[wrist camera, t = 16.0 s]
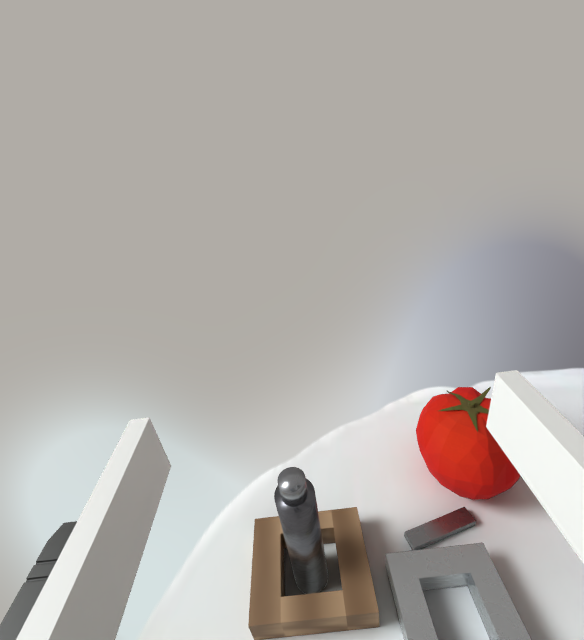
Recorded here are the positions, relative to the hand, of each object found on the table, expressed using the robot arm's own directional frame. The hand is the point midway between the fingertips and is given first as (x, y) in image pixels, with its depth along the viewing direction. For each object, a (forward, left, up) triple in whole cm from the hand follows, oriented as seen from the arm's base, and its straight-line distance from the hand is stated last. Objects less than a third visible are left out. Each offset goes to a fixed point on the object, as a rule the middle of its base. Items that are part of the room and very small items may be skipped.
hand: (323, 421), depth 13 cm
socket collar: (-10, -5, -32) cm, 34 cm away
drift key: (-12, -13, -32) cm, 36 cm away
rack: (+3, -10, -32) cm, 34 cm away
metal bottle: (+3, -10, -32) cm, 34 cm away
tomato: (-18, -20, -32) cm, 42 cm away
